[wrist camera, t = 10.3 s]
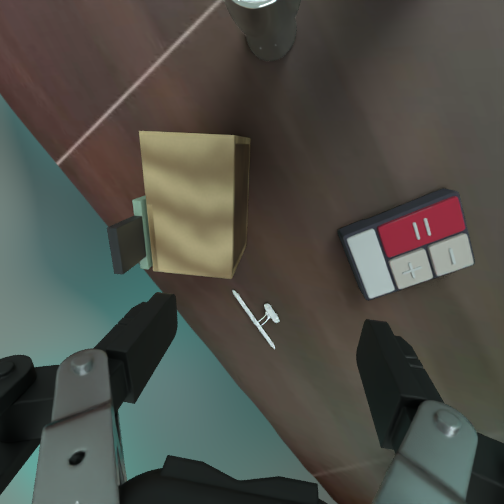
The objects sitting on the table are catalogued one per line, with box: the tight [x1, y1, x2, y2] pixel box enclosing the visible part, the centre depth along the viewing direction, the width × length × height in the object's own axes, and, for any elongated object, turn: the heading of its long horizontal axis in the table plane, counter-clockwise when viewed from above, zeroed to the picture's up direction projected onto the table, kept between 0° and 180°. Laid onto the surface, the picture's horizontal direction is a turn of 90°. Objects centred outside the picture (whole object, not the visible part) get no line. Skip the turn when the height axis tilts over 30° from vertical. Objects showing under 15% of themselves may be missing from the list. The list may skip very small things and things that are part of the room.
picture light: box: [232, 290, 280, 349], centre depth 47 cm, size 14×4×2 cm, turn 33°
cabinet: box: [139, 131, 250, 279], centre depth 36 cm, size 16×12×12 cm
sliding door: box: [107, 196, 153, 274], centre depth 34 cm, size 8×1×16 cm, turn 178°
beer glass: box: [224, 0, 301, 62], centre depth 26 cm, size 7×7×15 cm
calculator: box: [338, 189, 475, 300], centre depth 38 cm, size 11×4×15 cm
